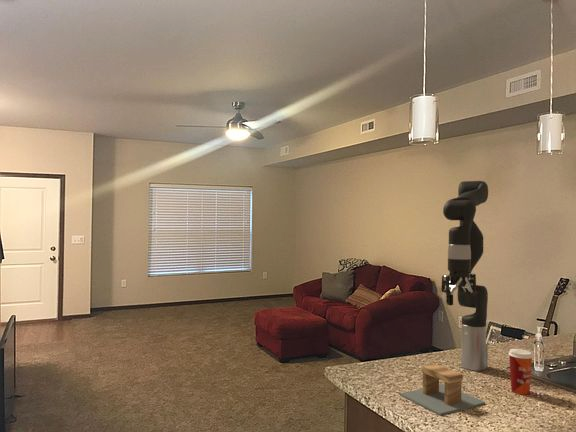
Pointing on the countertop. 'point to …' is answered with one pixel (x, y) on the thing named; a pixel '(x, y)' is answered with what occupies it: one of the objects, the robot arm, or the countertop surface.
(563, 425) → the countertop surface
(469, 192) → the robot arm
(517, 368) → the paper cup
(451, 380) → the tan wooden block
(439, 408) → the mat
